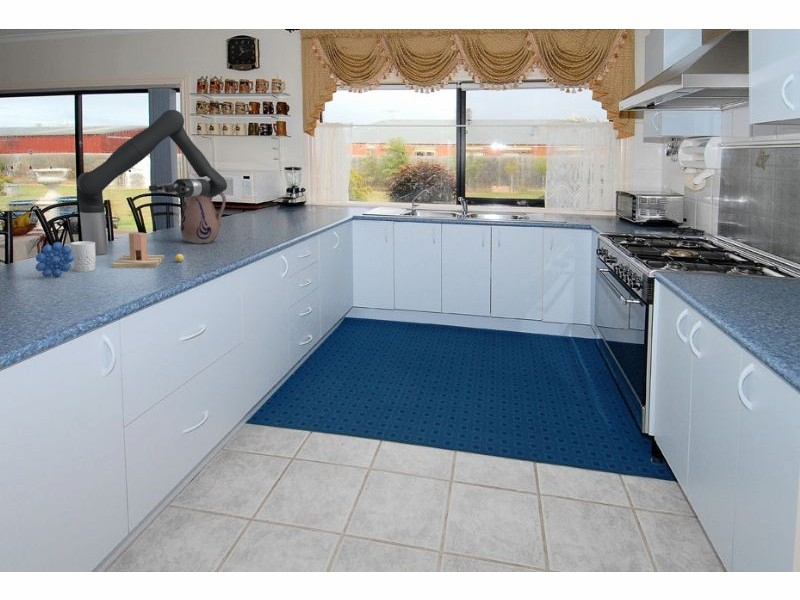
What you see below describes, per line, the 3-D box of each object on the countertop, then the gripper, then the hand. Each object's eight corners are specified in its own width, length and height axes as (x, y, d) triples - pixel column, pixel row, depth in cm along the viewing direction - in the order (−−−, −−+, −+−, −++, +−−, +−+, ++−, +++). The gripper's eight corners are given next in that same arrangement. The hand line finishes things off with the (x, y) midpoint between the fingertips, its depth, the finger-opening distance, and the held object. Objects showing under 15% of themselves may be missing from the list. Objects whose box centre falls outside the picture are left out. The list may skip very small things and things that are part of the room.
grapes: (73, 273, 219) (70, 239, 216) (76, 277, 213) (73, 242, 211) (35, 276, 212) (31, 241, 209) (37, 280, 207) (34, 244, 204)
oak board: (124, 258, 251) (124, 255, 250) (163, 258, 254) (163, 255, 253) (112, 267, 232) (112, 263, 231) (155, 267, 235) (154, 263, 234)
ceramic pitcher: (182, 240, 307) (180, 188, 301) (227, 239, 313) (225, 189, 307) (180, 245, 291) (177, 190, 285) (227, 245, 296) (225, 191, 291)
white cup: (73, 268, 227) (71, 241, 225) (97, 268, 230) (95, 241, 228) (72, 272, 220) (69, 244, 218) (97, 271, 223) (95, 244, 221)
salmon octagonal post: (131, 258, 244) (129, 232, 242) (147, 257, 246) (146, 232, 244) (130, 260, 239) (128, 234, 236) (147, 260, 241) (145, 234, 238)
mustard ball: (176, 261, 250) (175, 253, 249) (184, 261, 250) (184, 253, 250) (174, 262, 247) (174, 254, 246) (183, 262, 247) (182, 254, 246)
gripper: (174, 177, 263) (143, 178, 248) (200, 179, 257) (170, 180, 242) (175, 195, 264) (144, 197, 250) (201, 197, 258) (171, 199, 244)
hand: (157, 189), depth 246 cm, fingers open, 8 cm apart
